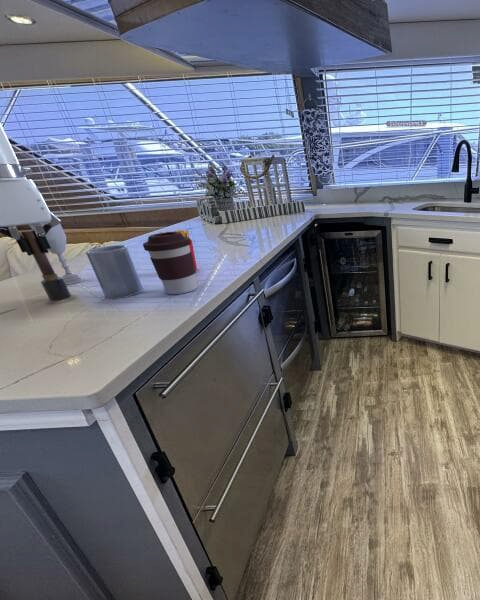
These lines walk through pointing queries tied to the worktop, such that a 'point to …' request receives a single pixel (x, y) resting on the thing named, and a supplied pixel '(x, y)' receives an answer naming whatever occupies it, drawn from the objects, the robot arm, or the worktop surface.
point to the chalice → (59, 250)
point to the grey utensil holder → (115, 271)
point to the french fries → (189, 245)
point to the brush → (46, 269)
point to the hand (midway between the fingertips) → (38, 252)
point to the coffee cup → (172, 261)
